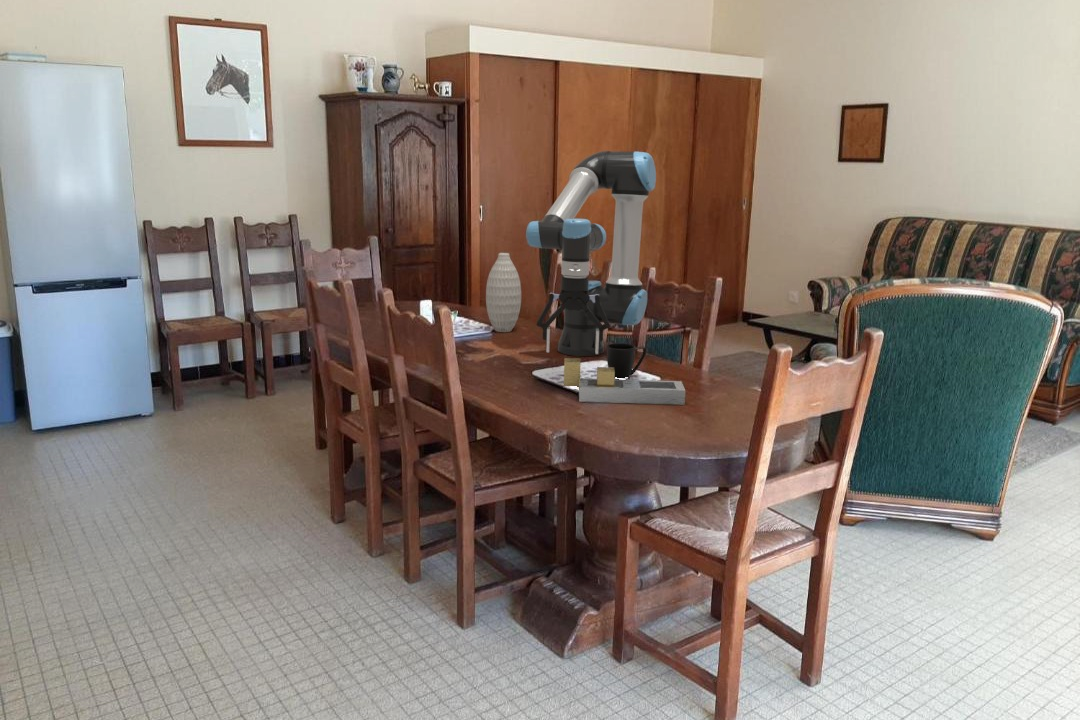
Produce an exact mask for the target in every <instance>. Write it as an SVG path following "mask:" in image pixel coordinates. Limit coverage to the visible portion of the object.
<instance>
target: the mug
mask: <svg viewBox="0 0 1080 720" xmlns="http://www.w3.org/2000/svg"><path fill="white" fill-rule="evenodd" d="M639 350H642V354H641V356H640V358H639V360H638V362H637V363H636V365H635V366H634V364H635V358H636V351H639ZM646 354H647V348H646V347H644V346H635V345H632V344H630V343H626V342H625V343H622V342H617V343H616V342H614V343H610V344H609V343H608V344H607V346H606V362H607V367H613V368H614V370H615V377H617V378H625V377H629V376H630V377H631V376H632V375H634V374H635V372H636V371H637V370H638V368H639V366H640V365H641V364H642V363H643V360H644V358H645V357H646ZM630 377H629V378H630Z"/></svg>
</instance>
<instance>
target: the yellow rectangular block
mask: <svg viewBox="0 0 1080 720" xmlns="http://www.w3.org/2000/svg"><path fill="white" fill-rule="evenodd" d="M563 360H564V363H563V364H564V367H563V387H564V386H577V387H579V378H581V366H582V363H581V361H582V359H581V358H580V357H579V358H574V357H572V358H571V357H570V358H569V357H564V359H563Z"/></svg>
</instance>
